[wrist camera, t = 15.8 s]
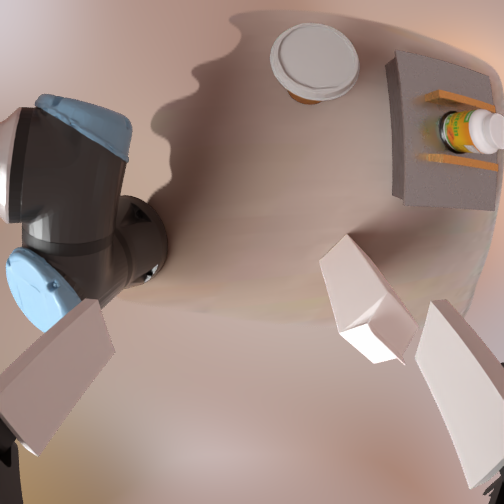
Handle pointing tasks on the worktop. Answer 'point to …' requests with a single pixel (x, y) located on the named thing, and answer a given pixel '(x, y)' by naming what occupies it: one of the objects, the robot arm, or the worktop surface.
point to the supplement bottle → (475, 131)
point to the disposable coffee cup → (314, 62)
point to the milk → (366, 304)
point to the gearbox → (437, 134)
